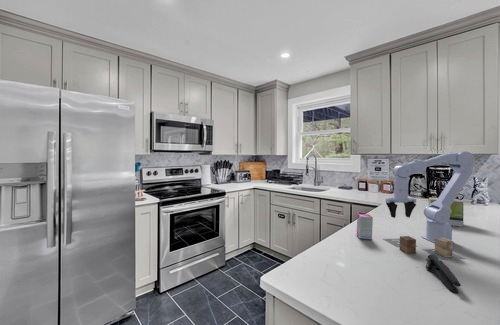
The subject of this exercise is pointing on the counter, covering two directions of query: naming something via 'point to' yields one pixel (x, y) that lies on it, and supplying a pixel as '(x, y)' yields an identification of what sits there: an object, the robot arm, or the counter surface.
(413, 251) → the walnut block
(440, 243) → the oak block
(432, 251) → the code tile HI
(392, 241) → the tile
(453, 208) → the tea box
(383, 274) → the counter surface
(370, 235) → the supplement box
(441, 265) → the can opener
